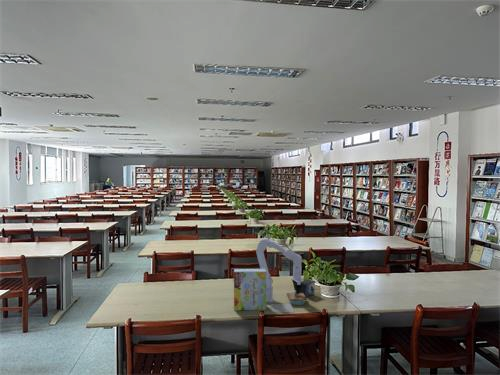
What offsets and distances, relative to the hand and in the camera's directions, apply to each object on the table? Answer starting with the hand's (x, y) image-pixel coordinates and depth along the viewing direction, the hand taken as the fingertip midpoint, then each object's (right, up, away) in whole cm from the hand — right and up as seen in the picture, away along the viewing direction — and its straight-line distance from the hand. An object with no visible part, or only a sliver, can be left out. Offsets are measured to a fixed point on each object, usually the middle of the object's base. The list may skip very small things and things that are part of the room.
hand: (296, 291), depth 242 cm
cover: (0, -4, 0) cm, 4 cm away
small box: (+9, -8, +16) cm, 20 cm away
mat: (-12, -8, -10) cm, 17 cm away
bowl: (0, -8, 0) cm, 8 cm away
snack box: (-33, -8, -10) cm, 35 cm away
